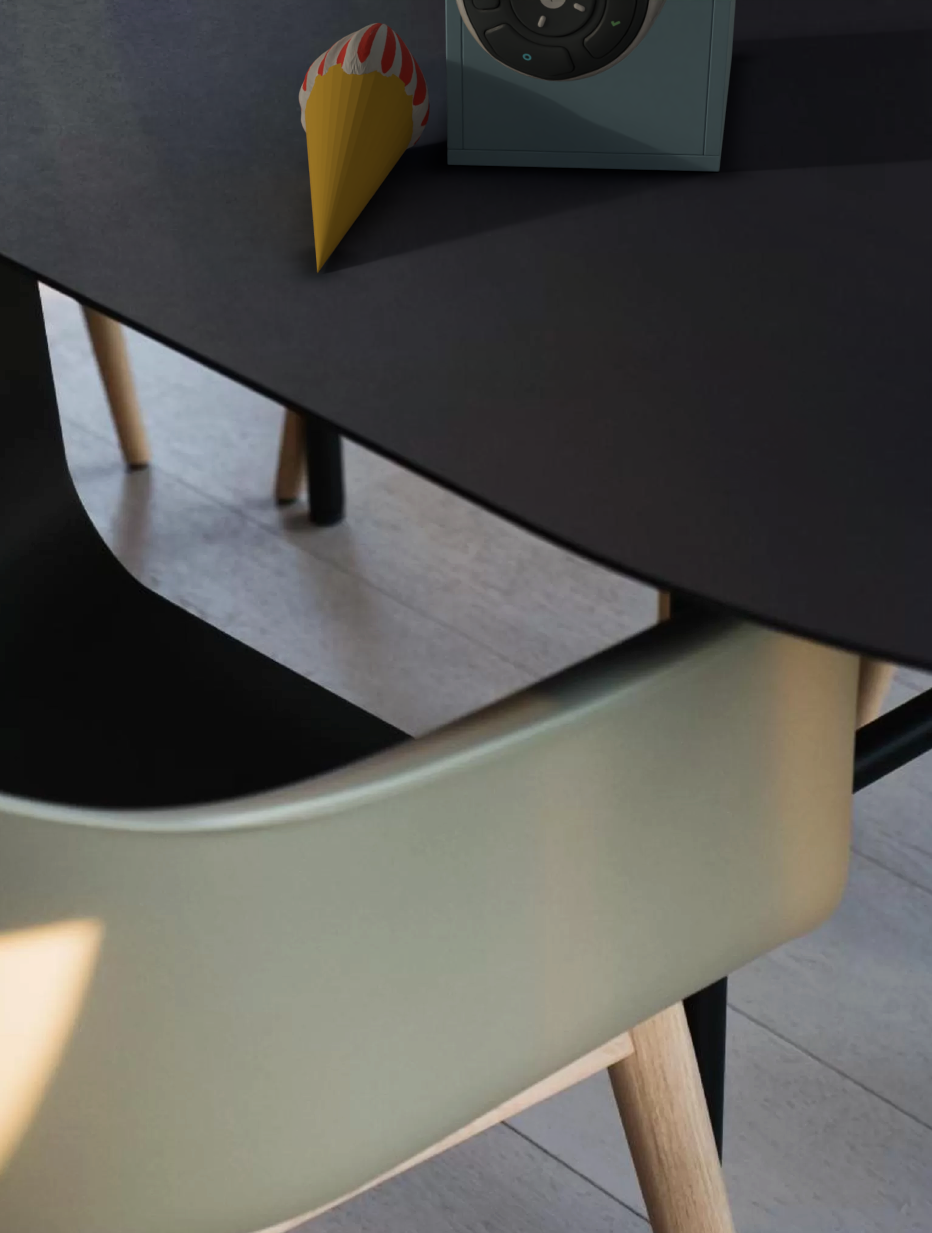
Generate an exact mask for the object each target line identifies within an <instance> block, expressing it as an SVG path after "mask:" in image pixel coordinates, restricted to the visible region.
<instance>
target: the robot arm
mask: <svg viewBox="0 0 932 1233" xmlns="http://www.w3.org/2000/svg"><path fill="white" fill-rule="evenodd" d="M666 1H667V0H456V2H457V6H458V9H459V12H460V14H461V16H462V19H463V21H464V23H465V25H466V26H467V28H468V30H469V31H470V33H471V34H472V36H473V37H474V38H475V40H476V41H477V42H478V44H479V45H480V46H481V47H482V48H483V49H484V50H485V51H486V52H487V53H488V54H489V55H490V56H491V57H493V58H494V59H495V60H497V61H498V62H499V63H501V64H502V65H504V66H506V67H508V68H509V69H511V70H513V71H515V72H517V73H520V74H522V75H525V76H528V77H531V78H536V79H540V80H546V81H574V80H580V79H585V78H588V77H592V76H595V75H597V74H600V73H602V72H604V71H606V70H608V69H610V68H612V67H613V66H615V65H617V64H618V63H619V62H621V61H622V60H623V59H625V58H626V57H627V56H628V55H629V54H630V53H631V52H632V51H633V50H634V49H635V48H636V47H637V46H638V45H639V44H640V43H641V41H642V40H643V39H644V38H645V36H646V35H647V34H648V32H649V31H650V29H651V28H652V26H653V24H654V23H655V21H656V19H657V18H658V16H659V14H660V12H661V11H662V9H663V7H664V5H665V3H666Z"/></svg>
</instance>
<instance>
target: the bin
mask: <svg viewBox="0 0 932 1233" xmlns="http://www.w3.org/2000/svg"><path fill="white" fill-rule="evenodd" d="M736 1H737V0H667V1H666V3H665V5H664V7H663V9H662V11H661V12H660V14H659V16H658V18H657V19H656V21H655V23H654V24H653V26H652V28H651V29H650V31H649V32H648V34H647V35H646V36H645V38H644V39H643V40H642V41H641V43H640V44H639V45H638V46H637V47H636V48H635V49H634V50H633V51H632V52H631V53H630V54H629V55H628V56H627V57H626V58H625V59H623V60H622V61H621V62H619V63H618V64H617V65H615V66H613V67H612V68H610V69H608V70H606V71H604V72H602V73H600V74H597V75H595V76H592V77H588V78H585V79H580V80H574V81H546V80H540V79H536V78H531V77H528V76H525V75H522V74H520V73H517V72H515V71H513V70H511V69H509V68H508V67H506V66H504V65H502V64H501V63H499V62H498V61H497V60H495V59H494V58H493V57H491V56H490V55H489V54H488V53H487V52H486V51H485V50H484V49H483V48H482V47H481V46H480V45H479V44H478V42H477V41H476V40H475V38H474V37H473V36H472V34H471V33H470V31H469V30H468V28H467V26H466V25H465V23H464V21H463V19H462V16H461V14H460V12H459V9H458V6H457V2H456V0H445V57H446V58H445V66H446V69H445V70H446V71H445V74H446V76H445V77H446V136H447V137H446V147H447V148H446V149H447V150H446V156H447V157H446V160H447V165H448V166H480V167H481V166H483V167H485V166H487V167H488V166H489V167H519V168H520V167H521V168H523V167H524V168H525V167H526V168H557V169H558V168H560V169H563V168H564V169H597V170H598V169H602V170H639V171H640V170H641V171H642V170H643V171H644V170H645V171H646V170H647V171H676V172H677V171H682V172H715V173H716V172H720V167H721V159H722V158H721V157H722V148H723V140H724V132H725V131H724V130H725V121H726V111H727V103H728V95H729V86H730V77H731V69H732V68H731V67H732V57H733V44H734V42H733V41H734V30H735V15H736Z"/></svg>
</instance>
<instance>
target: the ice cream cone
mask: <svg viewBox="0 0 932 1233" xmlns="http://www.w3.org/2000/svg"><path fill="white" fill-rule="evenodd" d="M300 86H301V87H300V89H299V93H298V102H299V106H300V111H301V112H300V113H301V114H300V122H301V126H302V128H303V130H304V132H305V135H306V147H307V148H306V149H307V160H308V171H309V174H308V175H309V185H310V198H311V210H312V220H313V221H312V224H313V233H314V234H313V235H314V236H313V237H314V248H315V258H316V272H317V274H318V273H319V272H320V270H321V269H322V268H323V266H324V265H325V263H326V262H327V261H328V260H329V258H330V256H331V255H332V254H333V252H334V251H335V250H336V248H337V247H338V245H339V244H340V243H341V241H342V240H343V239H344V237H345V236H346V234H347V233H348V232H349V230H350V229H351V227H352V226H353V224H354V223H355V221H356V220H357V219H358V217H360V215H361V213H363V212H362V211H364V209H365V207H367V204H368V203H369V202H370V200H371V199H372V198H373V196H374V195H375V194H376V192H377V191H378V190H379V188H380V186H382V184H383V182H384V181H385V180H386V178H387V177H388V175H389V174H390V173H391V171H392V170H393V168H394V167H395V165H396V164H397V163H398V162H399V160H400V159H401V157H402V156H403V154H404V153H405V152H406V150H408V149H409V148H412V147H413V146H415V145H416V144H417V142H419V140H420V138H421V136H422V134H423V132H424V129H425V128H426V126H427V124H428V122H429V118H430V99H429V97H430V96H429V95H430V93H429V87H428V83H427V80H426V77H425V75H424V73H423V71H422V68H421V67H420V64H419V63H418V62H417V60H416V59H415V56H414V55H413V53H412V52H411V51H410V49H409V48H408V46H407V45H406V43H405V42H404V40H403V39H402V37H401V36H400V35H399V34H398V33H397V32H396V31H395V30H393V29H392V27H391V26H389V25H388V24H386V23H381V22H375V23H370V24H369V25H366V26H364V27H362V28H360V29H359V30H357V31H354V32H351V33H350V34H347V35H345V36H343V37H342V38H340V39H339V40H338V41H336V42H335V43H334V44H332V46H330V47H329V49H327V50H326V51H324V52H323V53H322V54H320V55H319V56H318V57H317V58H316V59H315V60H314V61H313V62H312V63H311V65H310V66H309V68H308V69H307V71H306V73H305V76H304V80H303V82H302V84H301V85H300Z"/></svg>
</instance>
